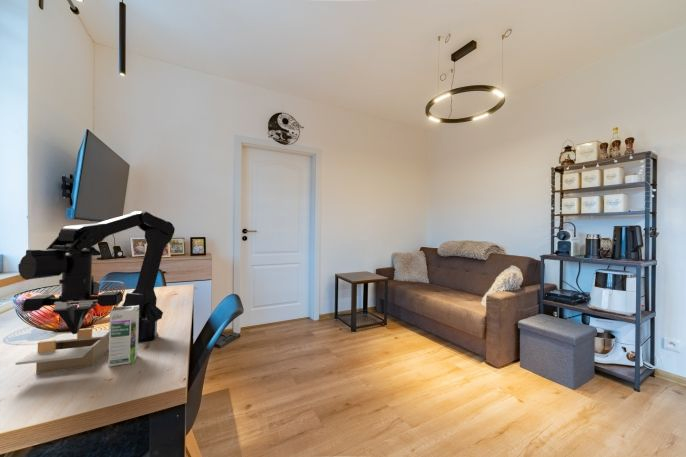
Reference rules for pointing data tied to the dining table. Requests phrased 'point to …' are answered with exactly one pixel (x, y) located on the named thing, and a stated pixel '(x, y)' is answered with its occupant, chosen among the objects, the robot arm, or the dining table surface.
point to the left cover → (53, 353)
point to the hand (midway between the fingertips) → (75, 333)
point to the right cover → (82, 335)
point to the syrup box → (123, 335)
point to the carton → (86, 361)
